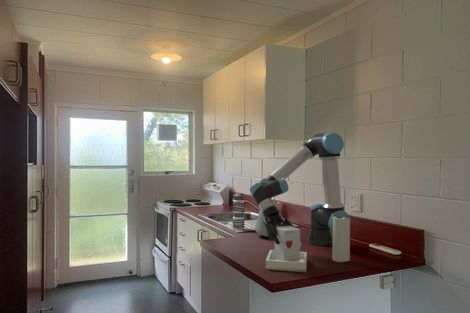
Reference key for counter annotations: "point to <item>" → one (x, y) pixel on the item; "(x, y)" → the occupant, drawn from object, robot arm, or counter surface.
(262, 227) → the jar
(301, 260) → the ceramic dish
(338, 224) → the paper towel roll
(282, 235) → the supplement box
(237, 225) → the decorative candle
